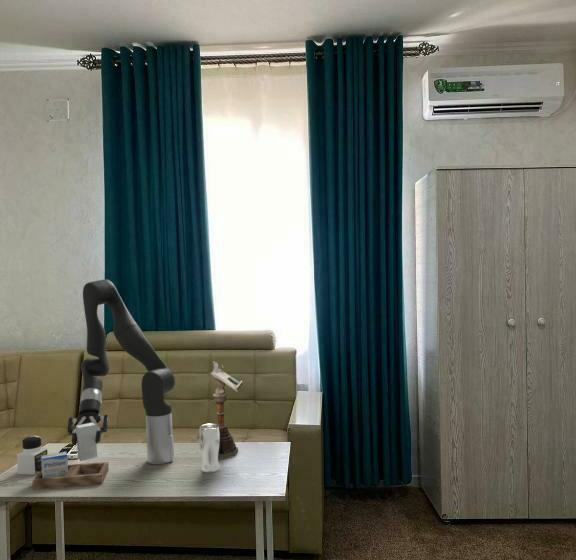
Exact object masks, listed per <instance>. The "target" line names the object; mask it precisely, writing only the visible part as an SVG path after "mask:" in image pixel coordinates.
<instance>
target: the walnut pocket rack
mask: <svg viewBox="0 0 576 560" xmlns="http://www.w3.org/2000/svg"><path fill="white" fill-rule="evenodd" d="M109 471H110V470H109V461H101V462H100V461H99V462H90V463H89V462H87V463H78V464H68V472H67V473H66V474H65V475H64V477H54V478H42V470H41V471H40V472H39V473H38V474H36V475H35V477H34V479H33V480H32V490H33V491H35V490H45V489H46V490H47V489H56V488H57V489H58V488H69V487H80V486H90V485H91V486H92V485H103V484H104V481H105V478H106V476H107V474H108V473H109Z"/></svg>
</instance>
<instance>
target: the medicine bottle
mask: <svg viewBox="0 0 576 560" xmlns="http://www.w3.org/2000/svg"><path fill="white" fill-rule="evenodd" d="M21 443H22V451H21V452H19V453H17V454H16V460H17V461H16V462H17V475H24V476H25V475H29V476H30V475H32V476H37V475H38V474H39V472H40V471H41V470H42V463H41V456H43V455H49V454H48V448H46V447H44V448H42V445H43V444H42V437H41V436H38V435H32V436H27V437H24V438H23V439H22V441H21Z"/></svg>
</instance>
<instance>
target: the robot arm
mask: <svg viewBox="0 0 576 560" xmlns="http://www.w3.org/2000/svg"><path fill="white" fill-rule="evenodd" d="M82 288H83V289H82V301H83V309H84V317H85V322H86V332H87V333H86V352H87V354H88V355H89V356H93V357H95V358H90V357H89V358H85V359H84V360H83V361H82V362H81V364H80V365H81V366H80V370H81V374H82V379H83V385H82V386H83V387H82V393H81V396H80V402H79V411H78V416H77V417H76V418H72V417H69V418H68V422H67V433H68V435H69V436H71V444H72V445H73V446H77V436H76V426H77V425H82V424H87V423H94V424H95V429H96V439H95V442H96V444H99V443H100V442H101V439H102V434H103V433H107V431H108V427H109V416H108V414H104V415H101V408H102V399H103V395H102V394H103V393H102V392H103V380H102V379H101V377H106V376H107V375H108V374H109V372H110V363H109V359H108V356H107V351H106V345H107V344H106V343H107V334H106V333H107V332H106V330H105V328H104V325H103V324H102V323H101V320H100V319H99V316H98V307H99V306H101V305H105V304H106V305H107V306H108V308H109V310H110V311H111V314H112V317H113V330H112V332H113V335H114V338H115V339H116V341H117V342H118V343H119V345H120V347H121V348H122V349H123V350H124V352H126V353H127V354H128V355H130V356H131V357H132V358H134V359H136V360H137V361H138V362H140V363H141V364H142V365H143V366H144V367H145V369H146V370H147V371H146V372H145V373H144V374H143V376H142V377H141V378H142V379H141V396H142V397H141V398H142V405H143V408H144V410H145V427H146V428H145V430H146V453H147V455H146V457H147V463H149V464H152V465H164V464H168V463H171V462H174V458H175V454H174V452H175V451H174V450H175V449H174V447H175V446H174V431H173V415H172V414H173V413H172V412H173V411H172V409H173V408H172V405H171V403H168V402H165V397H164V394H166V393H168V392H170V391H172V390H173V389H174V388H175V386H176V385H175V384H176V380H175V376H174V374H173V372H172V370H171V369H170V367H169V366H167V364H166V363H165V362H164V360H163V359H162V358H161V357H160V356H159V354H158V353H157V351H156V350H155V348H154V347H153V345H151V343H150V342H149V340H148V339H147V338H146V336H145V334H144V332H143V331H142V329H141V327H140V326H139V324H137V322H136V321H135V319H134V318H133V316H132V314H131V312H130V311H129V310H128V307H126V304H125V302H124V301H123V299H122V296H120V293H119V291H118V289H117V288H116V286H115V284H114V283H113V282H112V281H111V280H110V279H100V280H95V281H90V282H89V281H88V282H86V283H85V284H84V285H83V287H82ZM101 421H102V427H100V426H99V422H101ZM76 423H77V425H75V424H76ZM74 425H75V428H74Z"/></svg>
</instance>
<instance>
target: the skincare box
mask: <svg viewBox="0 0 576 560" xmlns="http://www.w3.org/2000/svg"><path fill="white" fill-rule="evenodd" d="M75 428H76V436H77V443H76V448H77V449H76V450H77V458H78V460H79V461H80V462H82V461H87V460H92V459H95V458H98V447H97V444H96V442H95V439H96V432H97V431H96V429H95V424H94V423H87V424H82V425H77V426H76V425H75Z"/></svg>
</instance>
